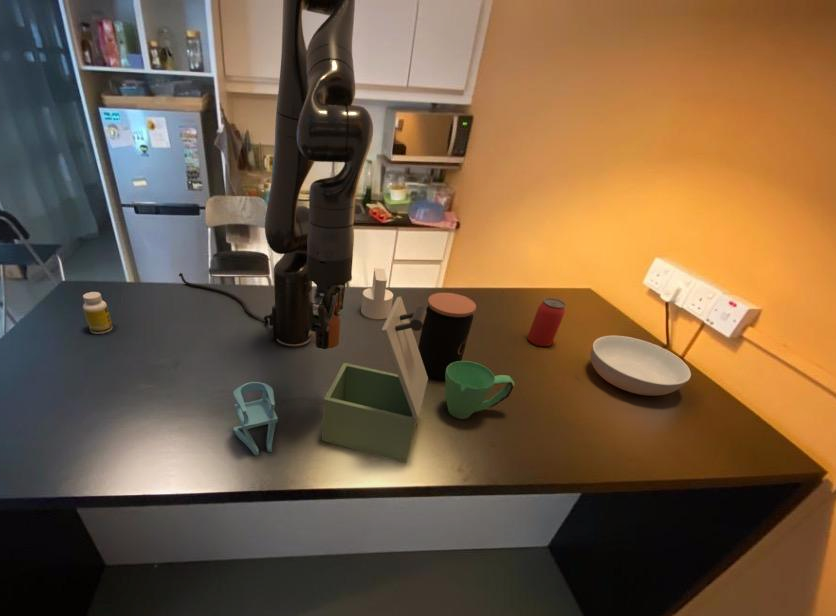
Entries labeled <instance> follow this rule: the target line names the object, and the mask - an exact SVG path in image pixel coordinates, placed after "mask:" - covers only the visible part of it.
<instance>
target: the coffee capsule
mask: <svg viewBox="0 0 836 616" xmlns="http://www.w3.org/2000/svg"><path fill="white" fill-rule="evenodd" d="M329 328H330V329H329V346H328V348H327V349H326V350H328V349H334V348H336V347H338V346H339V344H340V331H341V318H340V316H339V317H338V316H336V315H334V317H333V318H332V319H331V320H330V327H329ZM313 337H314V338H313V339H314V341H313V342H314V344H315V345H316V332H315V331H314V336H313Z"/></svg>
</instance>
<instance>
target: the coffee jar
mask: <svg viewBox="0 0 836 616" xmlns="http://www.w3.org/2000/svg"><path fill="white" fill-rule="evenodd" d="M425 309H426V311H427V314H426V317H425V320H424V323H423V327H422V329H421V330H420V331H421V332H420V337H419V342H418V345H417V346H418V349H419V352H420V355H421V358H422V361H423V364H424V367H425V370H426V373H427V376H428V379H433V380H437V381H438V380H439V381H445V372H446V369H447V366H448V365H450V364H451V363H453V362H457V361H463V356H464V353H465V348H466V345H467V342H468V339H469V334H470V331H471V327H472V324H473V320H474V314H475V312H476V309H477V304H476V303H475V302H474V301H473V300H472V299H471V298H469V297H467V296H465V295H462V294H458V293H453V292H437V293H433V294H431V295H429V297H428V299H427V306H426V308H425Z"/></svg>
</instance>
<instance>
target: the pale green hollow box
mask: <svg viewBox="0 0 836 616" xmlns="http://www.w3.org/2000/svg"><path fill="white" fill-rule="evenodd" d="M322 408H323V409H322V425H321V426H322V427H321V429H322V431H321V441H322V442H326V443H330V444H334V445H337V446H340V447H341V446H342V447H346V448H348V449H353V450H356V451H361V452H363V453H368V454H372V455H376V456H379V457H383V458H388V459H389V460H390V459H391V460H395V461H398V462H402V463H408V458H409V454H410V452H411V451H410V450H411V446H412V442H413V438H414V435H415V429H416V426H417V422H418V419H414V417H413V414H412V412H411V409H410V406H409V404H408V401H407V398H406V395H405V393H404V390H403V387H402V385H401V382H400V379H399V376H398V374H397V373H395V372H394V373H393V372H388V371H384V370H379V369H374V368H370V367H366V366H361V365H357V364H352V363H347V362H343V364H341V367H340V369H339V371H338V372H337V374H336V376H335V377H334V380H333V382H332V383H331V385H330V387H329V388H328V391H327V393H326V394H325V396H324V398H323V407H322Z"/></svg>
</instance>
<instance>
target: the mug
mask: <svg viewBox="0 0 836 616" xmlns="http://www.w3.org/2000/svg"><path fill="white" fill-rule="evenodd" d="M444 382H445V384H444V385H445V387H444V389H445V390H444V393H445V401H446V406H447V412H448V413H449V414H450V415H451V416H452V417H454V418H455V419H459V420H460V419H461V420H463V419H465V420H466V419H468V418H470V416H471V415H472V414H474V413H477V412H480V411H483V410H487V409H491V408H493V407H496V406H497V405H498V404H500V403H501V402H503V401H505V400H506V399H507V398H509V397H510V395H511V393H512V391H513V389H514V387H515V381H514V380H513V378H512V377H511V376H510V375H508V374H500V375H495V374H494V373H493V372H492V371H491V369H490V368H488V367H486V366H484V365H482V364H480V363H477V362H475V361H474V362H473V361H471V360H469V361H468V360H461V361H457V362H453V363H451V364H450V365H448V366H447V369H446V372H445V380H444ZM503 384H505V386H504V388H502V389H501V390H500V391H499V392H497V393H495V394H494V395H493V396H491V397H490V398H488V399H486V398H487V396H488V395H489V393H490V392H491V390H492V389H493V387H494V386H497V385H503Z"/></svg>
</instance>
